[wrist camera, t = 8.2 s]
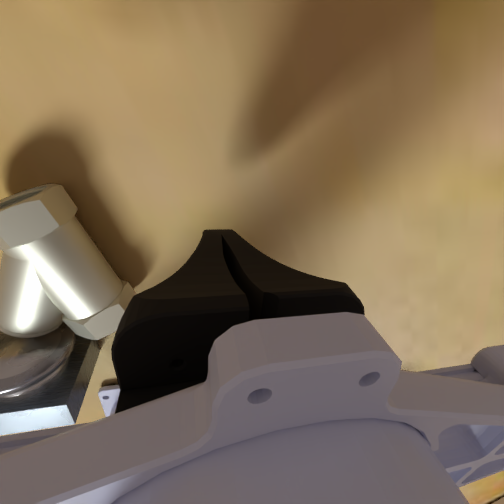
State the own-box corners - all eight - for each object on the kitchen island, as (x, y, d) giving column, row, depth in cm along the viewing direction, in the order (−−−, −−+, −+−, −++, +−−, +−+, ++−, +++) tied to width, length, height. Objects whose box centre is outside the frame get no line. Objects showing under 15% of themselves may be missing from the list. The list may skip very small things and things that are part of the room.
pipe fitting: (49, 314, 18) (142, 288, 18) (14, 365, 15) (127, 333, 15) (-54, 212, 14) (68, 176, 13) (-137, 253, 10) (23, 205, 10)
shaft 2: (99, 351, 20) (75, 424, 15) (12, 359, 19) (-41, 441, 14) (88, 311, 18) (55, 382, 13) (-11, 318, 17) (-82, 399, 12)
